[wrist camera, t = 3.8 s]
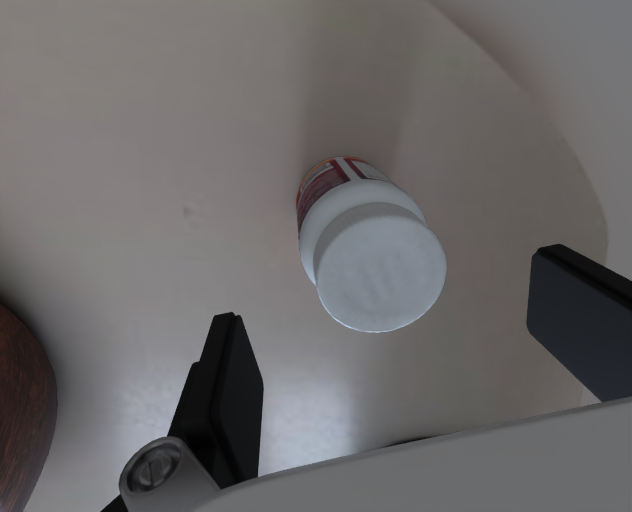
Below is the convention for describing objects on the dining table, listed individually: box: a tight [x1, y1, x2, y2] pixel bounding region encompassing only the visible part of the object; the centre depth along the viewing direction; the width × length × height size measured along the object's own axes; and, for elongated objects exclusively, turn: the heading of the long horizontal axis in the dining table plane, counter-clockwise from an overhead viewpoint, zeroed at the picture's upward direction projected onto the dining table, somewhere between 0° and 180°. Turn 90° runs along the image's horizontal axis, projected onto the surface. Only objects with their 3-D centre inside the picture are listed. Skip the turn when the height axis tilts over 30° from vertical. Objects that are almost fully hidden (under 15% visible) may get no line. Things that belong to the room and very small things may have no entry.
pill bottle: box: [296, 157, 447, 333], centre depth 18 cm, size 6×6×11 cm
